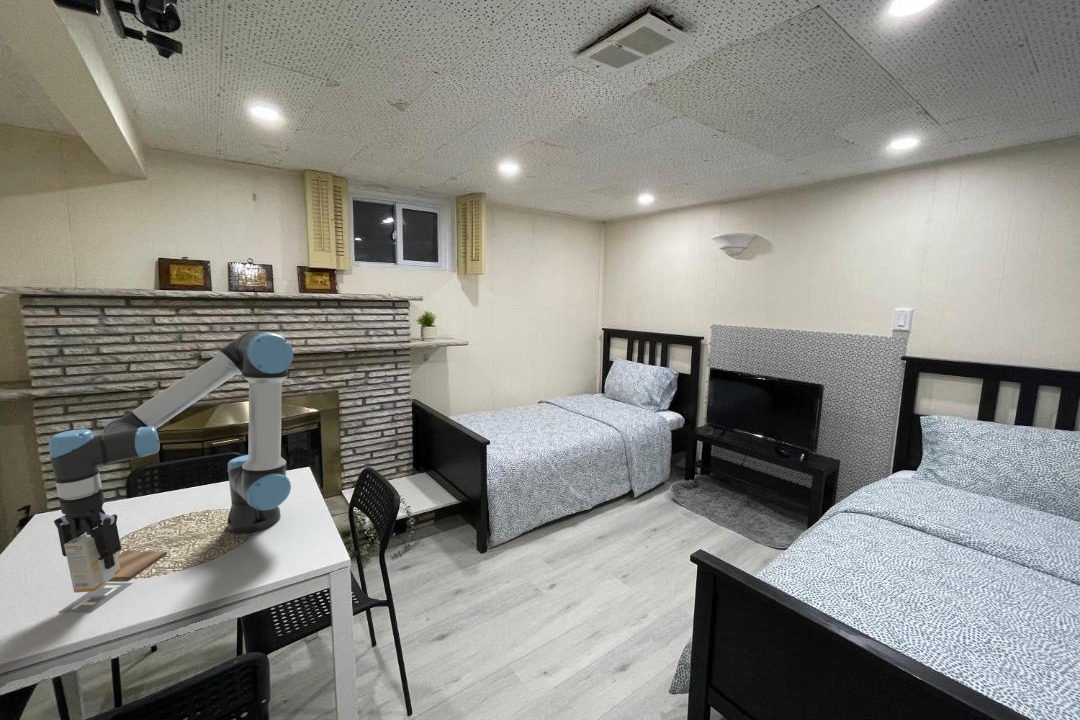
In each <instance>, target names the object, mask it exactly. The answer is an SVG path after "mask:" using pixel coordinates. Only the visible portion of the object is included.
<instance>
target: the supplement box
mask: <svg viewBox="0 0 1080 720" xmlns="http://www.w3.org/2000/svg"><path fill="white" fill-rule="evenodd" d="M96 528H97V527H96ZM94 529H95V528H94ZM64 547H65V552H66V556H65V557H66V559H67V565H68V569H69V575H70V579H71V583H72V589H73V593H88V592H91V591H95V590H96V589H97V588H99V587H100V586H101V585H103V584H104V583H102V580H101V574H100V569H99V564H98V558H100V557H101V556H100V554H99V552H98V550H97V548H96V545H95V540H94V538H92V537H91V535H88V534H87V532H85V533H84V534H82V535H80V536H78V537H76V538H74V539H73V540H71V541H69V542H67V543H66V544H64ZM113 556H114V562H115V565H114V566H113V567H114V572H115V575H116V574H117V573H119V572H120V571H121V570H120V565H119V560H118V556H119V555H118V552H117V553H115V554H113Z"/></svg>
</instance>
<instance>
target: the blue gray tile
mask: <svg viewBox="0 0 1080 720" xmlns="http://www.w3.org/2000/svg"><path fill="white" fill-rule="evenodd" d="M132 584H133V583H132V582H106V583H104V584H103V585H101V586H100V587H99V588H97V589H96V590H95V591H91V592H85V593H84V595H82V596H80V597H79V598H77V599H76V600H75V601H73V602H71V603H69V604H68V605H66V606H65V607H64V608H62V609H61V610H59V611H58V613H93V612H94V611H95V610H97V609H98V608H100V607H101V606H103V605H104V604H105V603H107V602H108V601H110V600H111V599H113V598H114V597H115V596H117V595H118V594H119V593H121V592H122V591H124V590H125V589H126V588H128V587H130V586H131V585H132Z"/></svg>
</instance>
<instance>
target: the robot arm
mask: <svg viewBox="0 0 1080 720" xmlns="http://www.w3.org/2000/svg"><path fill="white" fill-rule="evenodd" d="M216 353H217V354H216V356H215V357H213V358H212V359H210V360H208V361H207V362H206V363H204V364H203V365H201V366H200V367H198V368H196V369H194V370H193V371H191V372H190V373H188V374H186V375H185V376H184V377H183V378H180V379H179V380H178V381H176V382H175V383H173V384H172V385H170V386H169V387H167V388H165V389H164V390H162V391H160V393H158V394H156V395H155V396H153V397H151V398H150V399H148V400H147V401H145V402H144V403H143V404H141V405H139V406H138V407H135V408H134V409H133V410H132V411H130V412H129V413H127V414H125V415H123V416H122V417H119V418H115V419H112V420H110V421H109V422H108V423H107V424H106V425H105V427H104V428H103V432H102V434H100V435H94V433H93V431H92V430H90V429H88V428H87V429H86V428H81V429H72V430H67V431H62V432H59V433H57V434H56V433H55V434H54V435H52V436H51V437H50V438H49V439H48V448H49V456H50V462H51V467H52V471H53V475H54V479H55V487H56V491H57V492H56V493H57V496H58V498H60V499H59V501H58V502H59V505H60V512H61V514H63V515H62V516H60V517H58V518H56V519H54V520H53V523H54V525H55V527H56V529H57V532H58V537H59V538H58V539H59V544H60V549H61V554H62V556H63V557H67V556H66V552H65V547H64V544H66V543H67V542H69V541H71V540H73V539H74V538H76V537H78V536H80V535H82V534H84V533H85V532H87V534H88V535H91V537H92V538H94V540H95V545H96V548H97V550H98V552H99V554H100V556H101V557H100V558H98V564H99V569H100V574H101V580H102V583H108V582H109V581H110V579H112V578H113V577H115V572H114V567H113V566H114V565H115V562H114V556H113V554H115V553H117V554H118V552H120V551H121V550H122V545H121V540H120V535H119V531H118V530H119V529H118V526H117V522H118V521H117V520H118V515H117V514H116V513H115V514H111V515H110V514H106V511H105V510H104V509H103V507H104V506H103V505H104V503H105V495H104V490H103V488H102V487H103V485H102V481H101V475H100V469H99V467H101V466H105V465H109V464H115V463H119V462H125V461H128V460H134V459H138V458H144V457H147V456H150V455H151V456H152V455H154V454H157V453H159V451H160V449H161V448H160V447H161V446H160V445H161V444H160V438H159V434H158V431H157V429H158V428H159V427H161V426H162V425H164V424H165V423H167V422H169V421H170V420H171V419H173V418H174V417H175V416H177V415H179V414H180V413H182V412H183V411H184V410H186V409H188V408H189V407H191V406H192V405H193V404H195V403H196V402H197V401H199V400H201V399H202V398H204V397H205V396H207V394H210V393H211V392H212V391H214V390H216V389H217V388H218V387H220V386H221V385H222V384H224V383H225V382H227V381H228V380H230V379H232V378H234V376H241V375H242V377H243V378H244V380H246V381H247V382H248V450H247V451H248V452H247V453H248V454H245V455H241V456H237V457H235V458H232V459H231V460H229V461H228V463H227V470H226V471H227V473H228V483H229V490H230V501H231V506H230V508H229V514H228V517H227V521H226V525H227V530H228V531H229V532H231V533H233V534H234V533H235V534H246V533H253V532H259V531H261V530H263V529H266V528H268V527H270V526H272V525H275V524H276V523H277V522H279V520H280V518H281V510H280V507H279V506H280V505H282V504H283V503H284V502H285V501H286V500H287V498H288V497H289V495H290V494H291V488H292V486H291V481H290V479H289V477H287V461H286V460H285V459H284V458H283V457H282V456H281V455H282V454H281V453H282V395H283V394H282V393H283V391H282V389H283V382H284V381H285V380H286V379H287V378H288V374H289V373H288V372H289V370H288V369H289V366H291V364H292V362H293V360H294V349H293V347H292V345H291V343H290V342H289V341H288V340H287V338H285V337H283V336H281V335H280V334H278V333H275V332H269V331H262V330H252V331H247V332H245V333H243V334H242V335H239V336H238V337H237V338H236V339H234V340H232V341H230V342H229V343H228V344H226V345H225V346H223V348H220V349H218V350H217V352H216ZM96 527H97V528H96ZM94 528H95V529H94Z"/></svg>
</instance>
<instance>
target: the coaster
mask: <svg viewBox="0 0 1080 720" xmlns="http://www.w3.org/2000/svg"><path fill="white" fill-rule="evenodd" d="M167 552H168V551H155V550H154V551H153V550H152V551H145V550H143V551H141V550H140V551H137V550H134V551H127V550H126V551H124V552H123V553H121V554H119V555H118V560H119V565H120V570H121V571H120V572H119V573H117V574H116V575H115V577H113V578H112V579H110V580H112V581H113V580H118V581H119V580H120V581H121V580H122V581H123V580H124V581H125V580H126V581H127V580H132V579H133V578H135V577H136V576H138V575H139V574H140V573H142V572H143V571H145V570H146V569H148V568H149V567H151V566H152V565H154V564H155V563H156V562H158V561H159V560H161V559H162V558H164V556H167V554H168V553H167ZM110 580H109V581H110Z"/></svg>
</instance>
